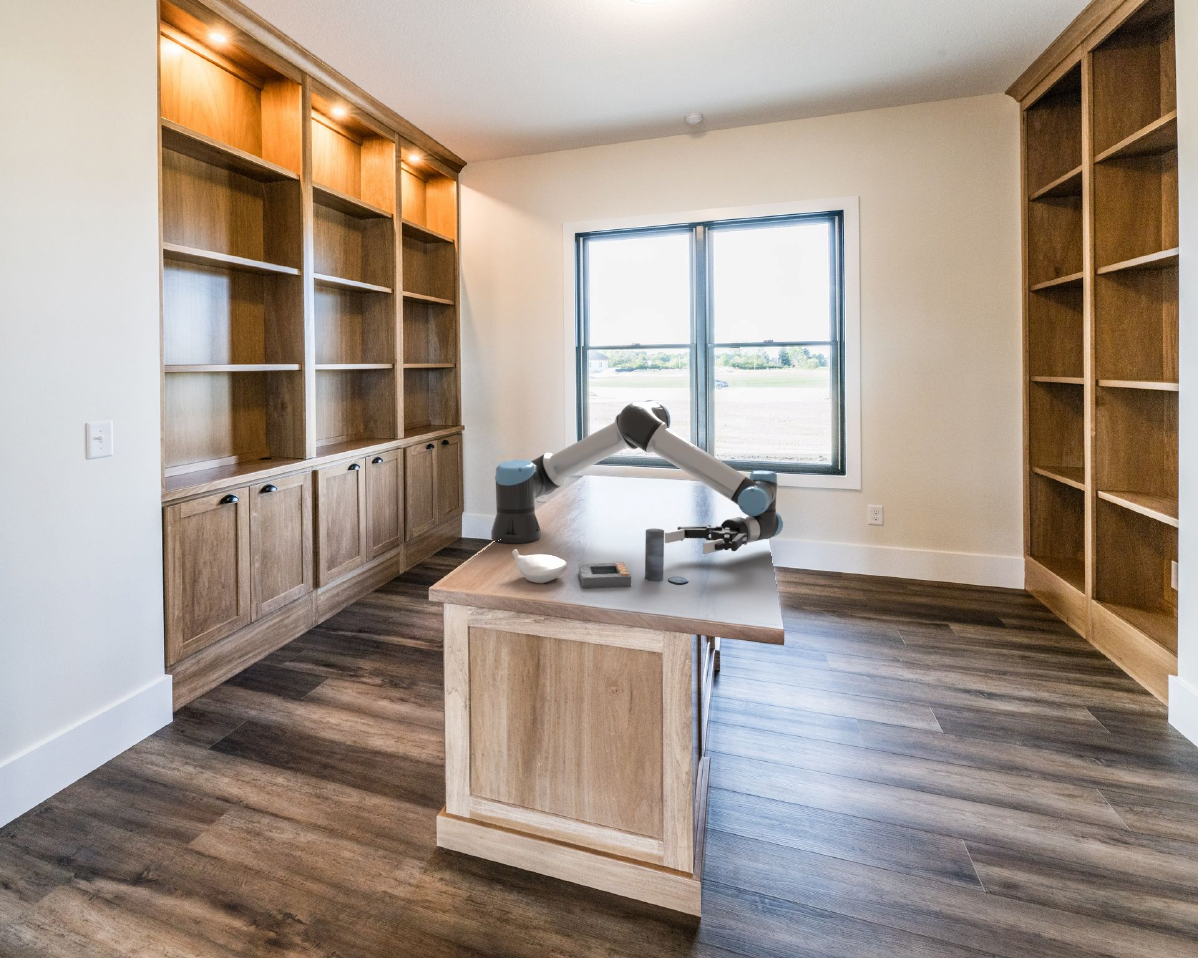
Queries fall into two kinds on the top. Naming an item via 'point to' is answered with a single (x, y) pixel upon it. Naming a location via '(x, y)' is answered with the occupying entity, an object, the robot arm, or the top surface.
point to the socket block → (604, 575)
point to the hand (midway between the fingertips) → (684, 543)
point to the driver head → (539, 567)
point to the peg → (654, 554)
